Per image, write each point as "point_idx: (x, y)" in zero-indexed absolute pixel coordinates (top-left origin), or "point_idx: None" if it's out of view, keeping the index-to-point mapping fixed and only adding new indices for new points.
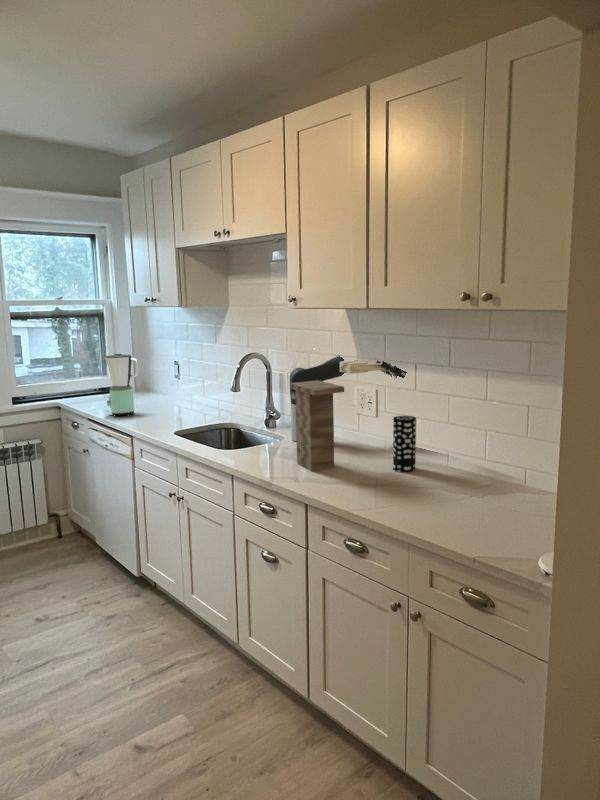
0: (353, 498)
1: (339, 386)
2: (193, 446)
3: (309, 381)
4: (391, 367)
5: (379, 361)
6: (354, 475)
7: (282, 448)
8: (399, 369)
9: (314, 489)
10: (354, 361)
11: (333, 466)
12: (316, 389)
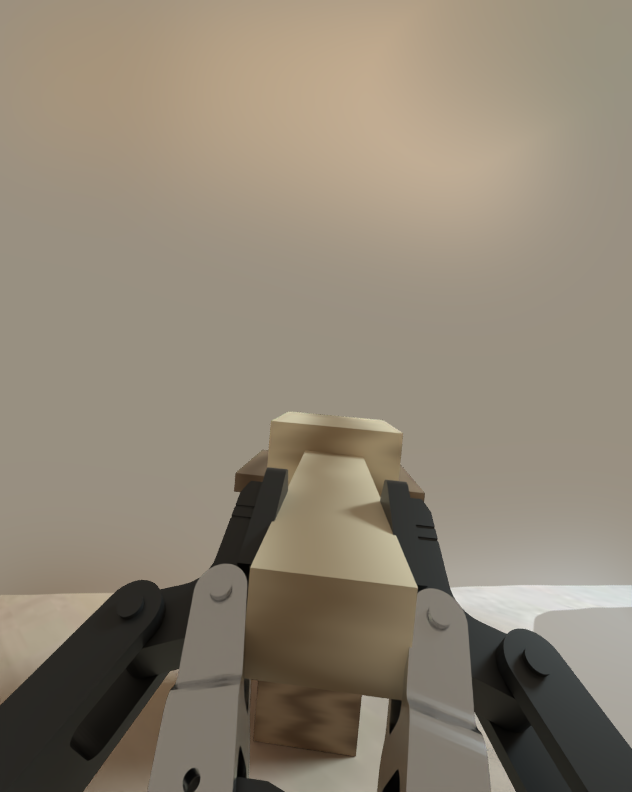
0: (65, 627)
1: (253, 472)
2: (567, 599)
3: (411, 480)
4: (190, 592)
5: (390, 501)
6: (142, 737)
7: None
8: (18, 703)
9: None
10: (349, 423)
11: (254, 734)
12: (264, 452)
